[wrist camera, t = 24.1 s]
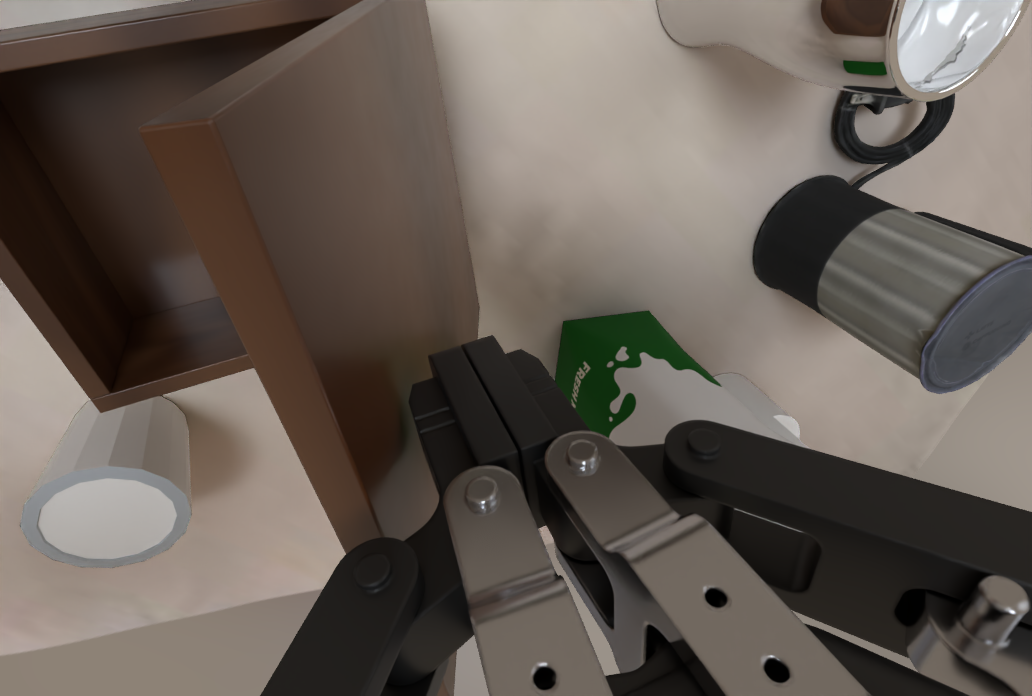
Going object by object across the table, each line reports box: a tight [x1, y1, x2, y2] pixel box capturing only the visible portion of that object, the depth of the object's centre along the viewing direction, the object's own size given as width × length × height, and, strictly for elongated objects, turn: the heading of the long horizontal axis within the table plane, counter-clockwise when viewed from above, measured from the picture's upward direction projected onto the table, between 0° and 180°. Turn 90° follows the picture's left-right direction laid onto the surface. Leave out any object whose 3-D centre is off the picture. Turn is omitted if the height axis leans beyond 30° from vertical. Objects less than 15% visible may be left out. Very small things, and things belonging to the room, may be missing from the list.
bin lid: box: [139, 0, 480, 696], centre depth 17 cm, size 18×14×1 cm
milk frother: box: [754, 91, 1032, 394], centre depth 37 cm, size 14×16×15 cm
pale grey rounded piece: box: [713, 373, 810, 449], centre depth 48 cm, size 9×9×12 cm
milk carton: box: [555, 311, 801, 532], centre depth 36 cm, size 9×9×20 cm
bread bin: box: [0, 0, 363, 413], centre depth 25 cm, size 17×14×7 cm
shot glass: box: [20, 396, 192, 568], centre depth 30 cm, size 7×7×7 cm
